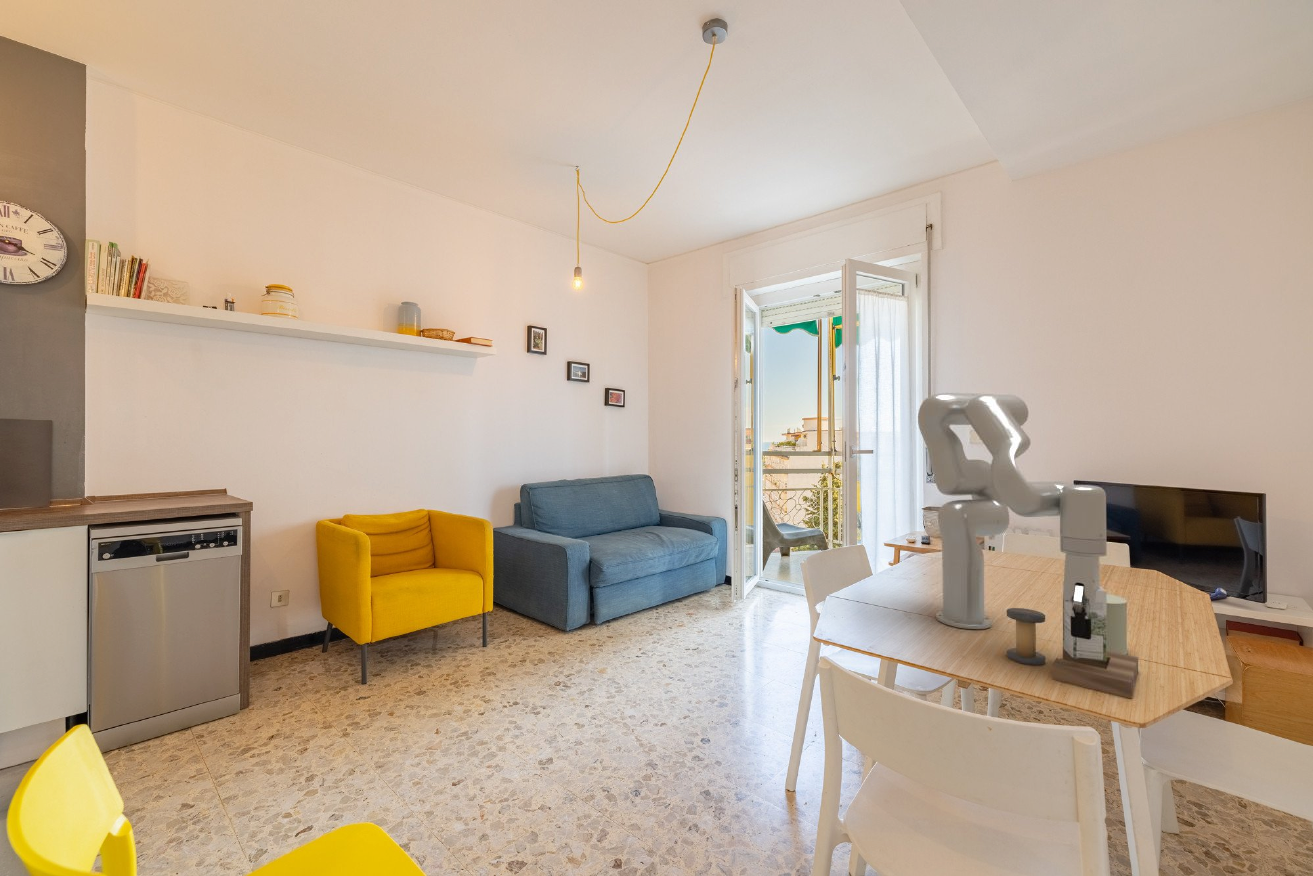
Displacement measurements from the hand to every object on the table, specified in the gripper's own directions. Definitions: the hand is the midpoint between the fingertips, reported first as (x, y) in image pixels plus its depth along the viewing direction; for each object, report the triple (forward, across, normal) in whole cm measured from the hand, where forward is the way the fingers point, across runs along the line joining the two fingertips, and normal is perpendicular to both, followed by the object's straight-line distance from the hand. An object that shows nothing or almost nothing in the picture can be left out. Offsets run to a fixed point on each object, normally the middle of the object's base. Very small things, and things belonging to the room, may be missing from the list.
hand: (1083, 631), depth 113 cm
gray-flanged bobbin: (+8, 0, -10) cm, 13 cm away
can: (+9, -19, +1) cm, 21 cm away
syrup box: (+5, 0, 0) cm, 5 cm away
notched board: (+8, 0, +2) cm, 9 cm away
